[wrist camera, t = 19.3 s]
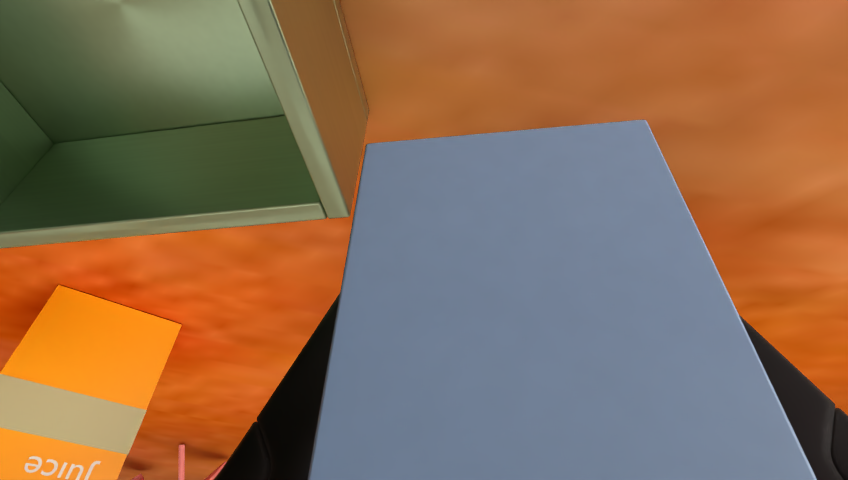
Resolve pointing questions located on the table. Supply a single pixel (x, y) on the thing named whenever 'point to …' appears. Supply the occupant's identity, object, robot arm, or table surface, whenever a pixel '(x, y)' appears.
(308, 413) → the robot arm
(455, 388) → the blue-grey block
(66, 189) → the waste bin
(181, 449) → the figurine
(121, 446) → the orange juice
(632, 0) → the table surface
